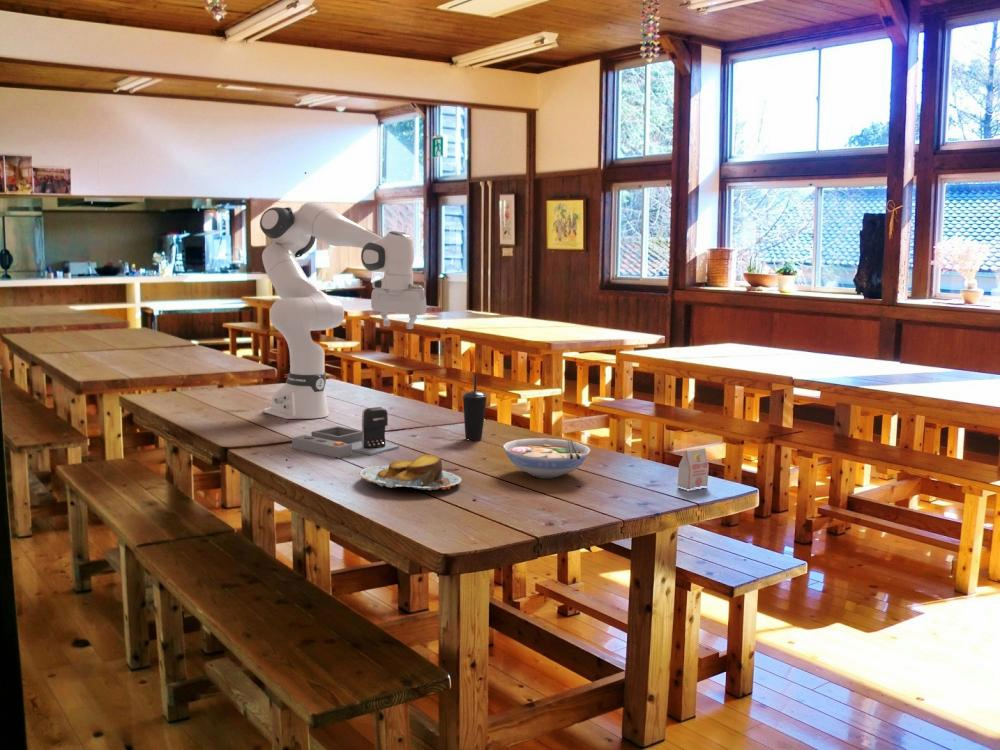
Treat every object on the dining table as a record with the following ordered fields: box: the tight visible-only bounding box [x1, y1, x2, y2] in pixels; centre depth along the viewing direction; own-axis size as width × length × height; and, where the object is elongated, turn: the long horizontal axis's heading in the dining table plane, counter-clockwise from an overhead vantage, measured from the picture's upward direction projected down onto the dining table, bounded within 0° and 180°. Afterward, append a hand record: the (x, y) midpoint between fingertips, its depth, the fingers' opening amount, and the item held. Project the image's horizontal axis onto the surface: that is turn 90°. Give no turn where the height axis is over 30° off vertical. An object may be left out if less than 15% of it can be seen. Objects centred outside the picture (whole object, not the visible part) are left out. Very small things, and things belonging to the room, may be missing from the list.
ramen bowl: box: [502, 437, 591, 479], centre depth 252 cm, size 25×23×8 cm
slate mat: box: [351, 440, 400, 456], centre depth 276 cm, size 12×12×1 cm
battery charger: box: [361, 406, 389, 448], centre depth 273 cm, size 7×4×11 cm, turn 127°
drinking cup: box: [461, 373, 488, 441], centre depth 291 cm, size 8×8×20 cm
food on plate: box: [359, 453, 463, 491], centre depth 239 cm, size 25×25×7 cm
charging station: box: [291, 425, 362, 459], centre depth 277 cm, size 22×22×4 cm
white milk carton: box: [677, 448, 710, 489], centre depth 244 cm, size 4×7×10 cm, turn 123°
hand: (398, 327), depth 307 cm, fingers open, 8 cm apart
